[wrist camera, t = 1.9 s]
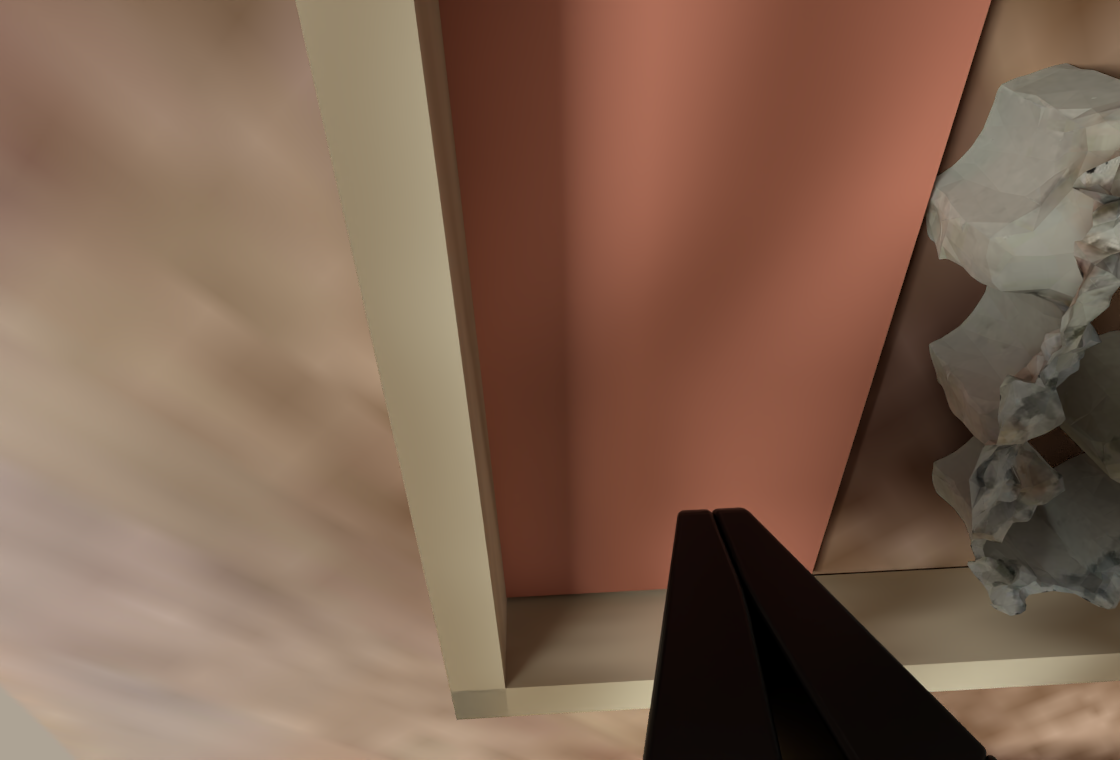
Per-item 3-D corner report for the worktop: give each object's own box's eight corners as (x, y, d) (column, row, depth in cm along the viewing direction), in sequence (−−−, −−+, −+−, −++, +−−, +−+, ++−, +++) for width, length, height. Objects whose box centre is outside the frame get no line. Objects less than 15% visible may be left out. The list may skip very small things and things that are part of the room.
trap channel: (1910, -381, 7) (2428, -488, 5) (1146, 585, 18) (1228, 674, 16) (288, -349, 7) (194, -454, 5) (464, 623, 17) (457, 719, 15)
